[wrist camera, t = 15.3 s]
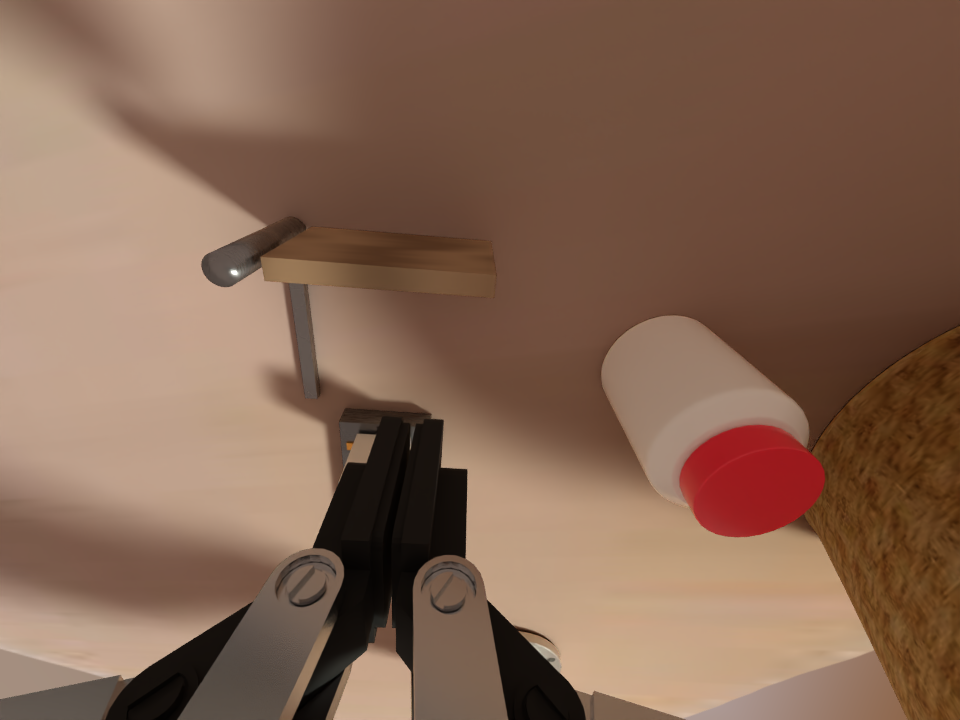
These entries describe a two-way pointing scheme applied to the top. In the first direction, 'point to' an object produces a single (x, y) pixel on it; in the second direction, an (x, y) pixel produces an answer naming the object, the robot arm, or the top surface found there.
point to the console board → (370, 425)
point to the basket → (901, 521)
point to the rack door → (384, 262)
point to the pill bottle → (711, 428)
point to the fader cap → (361, 449)
